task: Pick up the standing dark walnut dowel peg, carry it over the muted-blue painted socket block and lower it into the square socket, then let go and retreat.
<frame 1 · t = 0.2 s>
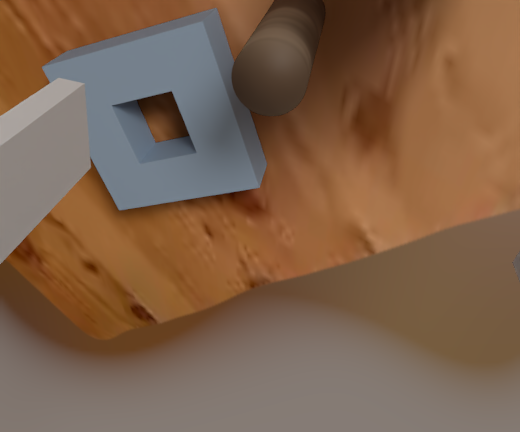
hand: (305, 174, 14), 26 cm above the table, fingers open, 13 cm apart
socket block: (170, 109, 43), on the table
peg: (298, 13, 36), on the table
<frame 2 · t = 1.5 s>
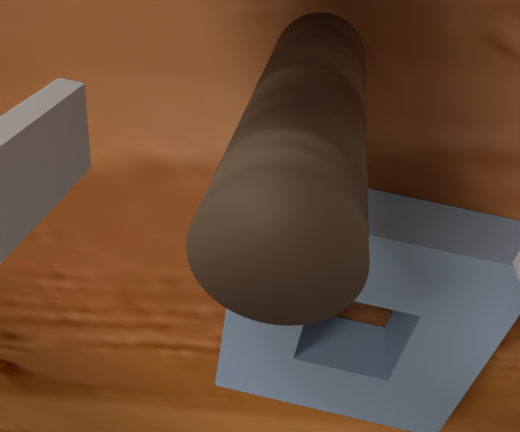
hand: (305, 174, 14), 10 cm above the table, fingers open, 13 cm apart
socket block: (353, 287, 29), on the table
peg: (318, 59, 22), on the table
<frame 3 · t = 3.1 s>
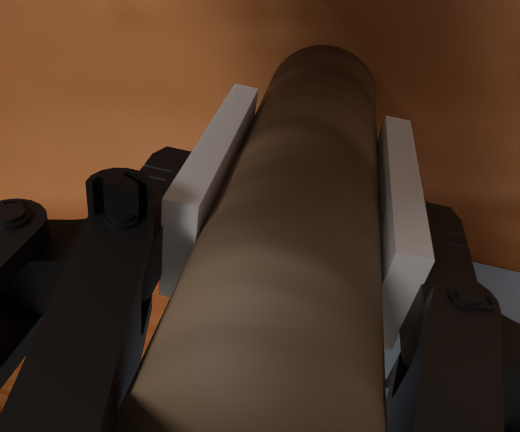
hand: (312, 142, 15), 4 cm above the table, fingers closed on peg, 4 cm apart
socket block: (363, 345, 26), on the table
peg: (321, 99, 18), on the table, touching gripper
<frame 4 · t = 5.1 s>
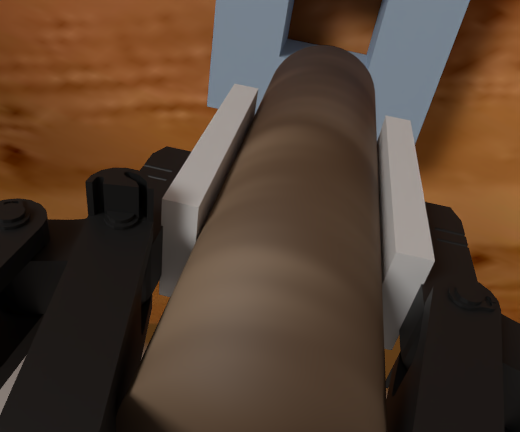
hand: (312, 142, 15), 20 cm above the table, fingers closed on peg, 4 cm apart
socket block: (336, 4, 31), on the table
peg: (320, 99, 18), point 16 cm above the table, touching gripper
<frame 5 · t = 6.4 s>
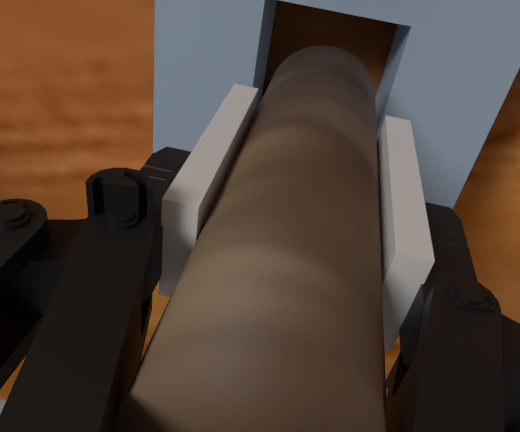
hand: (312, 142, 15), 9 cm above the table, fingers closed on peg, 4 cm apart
socket block: (327, 53, 23), on the table
peg: (320, 99, 18), point 6 cm above the table, touching gripper
when the fingers open (5 cm above the table, at t = 7.4 s): peg stays where it is, resting in socket block.
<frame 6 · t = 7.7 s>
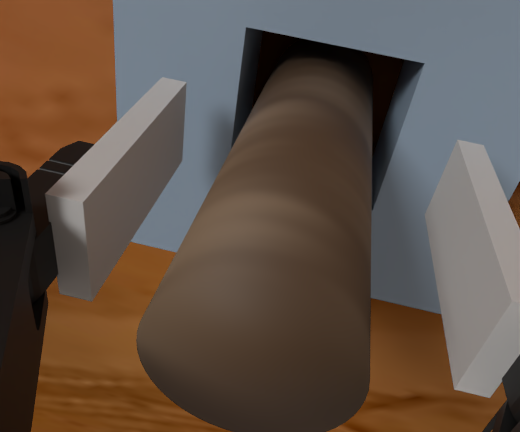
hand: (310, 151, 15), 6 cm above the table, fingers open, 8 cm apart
socket block: (323, 85, 19), on the table
peg: (321, 84, 19), resting in socket block
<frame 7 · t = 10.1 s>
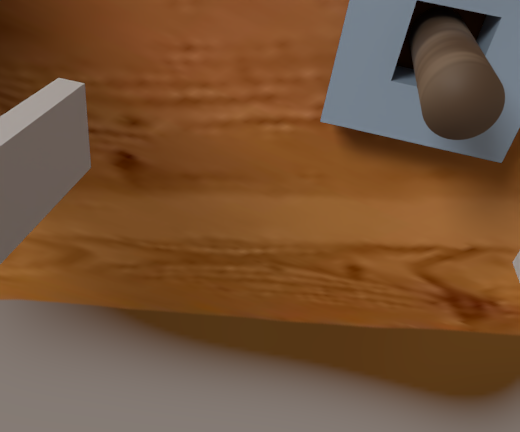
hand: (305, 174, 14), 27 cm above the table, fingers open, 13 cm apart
socket block: (437, 36, 36), on the table
peg: (436, 35, 36), resting in socket block
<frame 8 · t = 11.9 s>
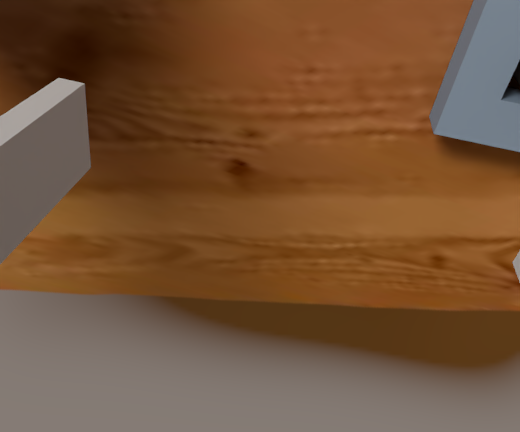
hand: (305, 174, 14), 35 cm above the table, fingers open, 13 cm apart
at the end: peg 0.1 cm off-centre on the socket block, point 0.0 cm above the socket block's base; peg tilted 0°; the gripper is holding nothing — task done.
